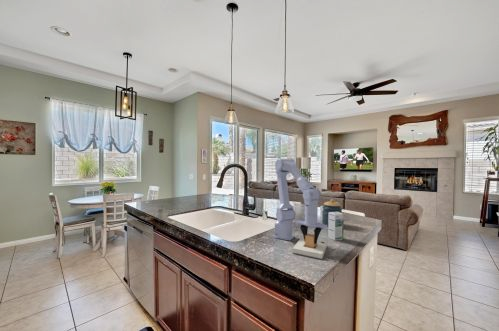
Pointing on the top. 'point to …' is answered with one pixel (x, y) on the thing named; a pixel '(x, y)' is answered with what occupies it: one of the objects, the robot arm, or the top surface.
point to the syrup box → (335, 225)
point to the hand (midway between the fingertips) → (310, 242)
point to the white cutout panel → (310, 249)
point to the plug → (310, 240)
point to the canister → (330, 210)
